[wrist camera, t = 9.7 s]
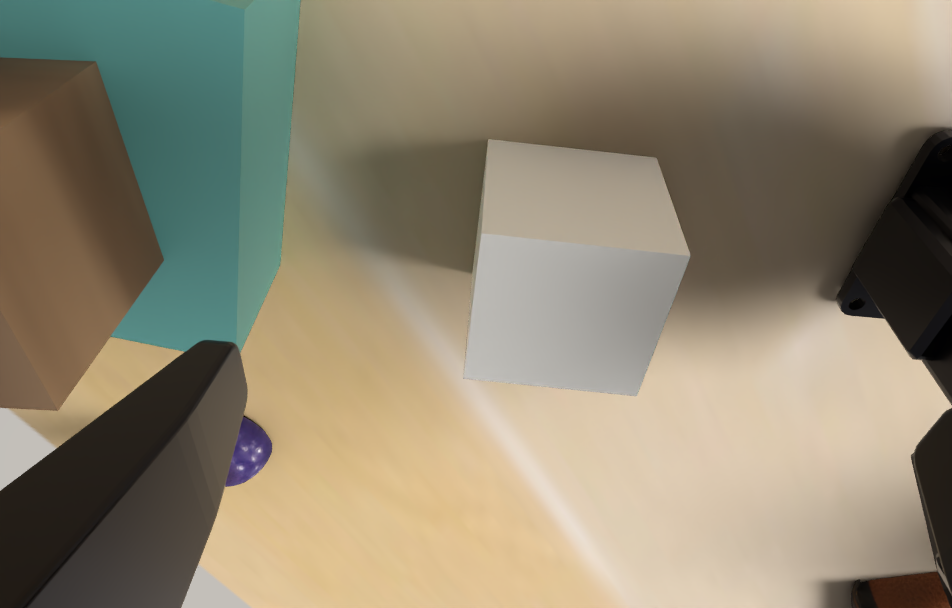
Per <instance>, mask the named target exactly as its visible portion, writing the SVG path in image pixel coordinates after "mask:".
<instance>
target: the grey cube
mask: <svg viewBox="0 0 952 608" xmlns="http://www.w3.org/2000/svg"><path fill="white" fill-rule="evenodd" d="M690 257H691V255H690V252H689V249H688V246H687V243H686V241H685V238H684V235H683V232H682V229H681V226H680V223H679V221H678V218H677V215H676V212H675V209H674V206H673V203H672V201H671V198H670V195H669V192H668V189H667V186H666V183H665V180H664V178H663V175H662V172H661V169H660V166H659V163H658V160H657V158H655V157H646V156H637V155H628V154H619V153H610V152H601V151H592V150H583V149H574V148H565V147H556V146H547V145H538V144H529V143H520V142H511V141H502V140H493V139H488V145H487V154H486V162H485V170H484V179H483V187H482V196H481V204H480V212H479V221H478V229H477V238H476V246H475V254H474V263H473V271H472V282H471V294H470V306H469V318H468V330H467V342H466V354H465V366H464V378H463V379H473V380H482V381H492V382H502V383H512V384H522V385H531V386H541V387H551V388H561V389H571V390H581V391H590V392H600V393H610V394H620V395H630V396H637V394H638V392H639V389H640V387H641V384H642V381H643V379H644V376H645V374H646V371H647V368H648V366H649V363H650V361H651V358H652V355H653V353H654V350H655V348H656V345H657V342H658V340H659V337H660V335H661V332H662V329H663V327H664V324H665V322H666V319H667V316H668V314H669V311H670V309H671V306H672V304H673V301H674V298H675V296H676V293H677V291H678V288H679V285H680V283H681V280H682V278H683V275H684V272H685V270H686V267H687V265H688V262H689V259H690Z"/></svg>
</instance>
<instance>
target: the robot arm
mask: <svg viewBox="0 0 952 608" xmlns="http://www.w3.org/2000/svg"><path fill="white" fill-rule="evenodd" d="M948 145H951V146H950V148H949V149H948V150H947V151H946V152H945V153H943V154H941V155H938V154H939V152H940V151H941V150H942V148H944V147H946V146H948ZM857 298H858V299H857ZM854 299H857V300H856V301H854V302H851V301H852V300H854ZM836 301H837V304H838V306H839V308H840V309H841V311H842V312H843V313H844V314H847V315H851V316H862V317H872V318H883V319H885V320H886V321H887V323H888V324H889V326H890V327H891V329H892V330H893V332H894V333H895V335H896V336H897V338H898V339H899V341H900V342H901V344H902V345H903V347H904V348H905V350H906V352H907V353H908V355H909V356H910V357H911V358H912V359H916V360H922V362H923V363H924V365H925V366H926V368H927V369H928V371H929V372H930V374H931V375H932V377H933V378H934V380H935V381H936V383H937V384H938V386H939V387H940V389H941V390H942V391H943V393H944V394H945V396H946V397H947V399H948V400H949V402H950V403H951V405H952V130H948V131H941V132H939V133H936V134H934V135H933V136H932V137H930V138H929V139H928V140H927V141H926V142H925V144H924V145H923V147H922V148H921V150H920V152H919V154H918V155H917V157H916V159H915V161H914V162H913V164H912V166H911V168H910V169H909V171H908V173H907V175H906V176H905V178H904V180H903V182H902V183H901V185H900V187H899V189H898V190H897V192H896V194H895V196H894V197H893V199H892V201H891V202H890V203H889V204H888V205H887V207H886V209H885V210H884V212H883V214H882V216H881V217H880V219H879V221H878V223H877V224H876V226H875V228H874V230H873V231H872V233H871V235H870V237H869V238H868V240H867V242H866V244H865V245H864V247H863V249H862V251H861V252H860V254H859V256H858V258H857V259H856V261H855V263H854V265H853V269H852V271H851V272H850V274H849V276H848V278H847V279H846V281H845V283H844V285H843V286H842V288H841V290H840V292H839V293H838V295H837V298H836ZM246 402H247V383H246V378H245V374H244V369H243V364H242V359H241V355H240V351H239V348H238V346H237V345H236V344H235V343H233V342H229V341H217V340H202V341H200V342H198V343H196V344H195V345H194V346H192V347H191V348H190V349H188V350H187V351H186V352H184V353H183V354H182V355H180V356H179V357H178V358H176V359H175V360H174V361H172V362H171V363H170V364H168V365H167V366H166V367H164V368H163V369H162V370H160V371H159V372H158V373H156V374H155V375H154V376H152V377H151V378H150V379H148V380H147V381H146V382H144V383H143V384H142V385H140V386H139V387H138V388H137V389H135V390H134V391H133V392H131V393H130V394H129V395H127V396H126V397H125V398H123V399H122V400H121V401H119V402H118V403H117V404H115V405H114V406H113V407H111V408H110V409H109V410H107V411H106V412H105V413H103V414H102V415H101V416H99V417H98V418H97V419H95V420H94V421H93V422H91V423H90V424H89V425H87V426H86V427H85V428H83V429H82V430H81V431H79V432H78V433H77V434H75V435H74V436H73V437H71V438H70V439H69V440H67V441H66V442H65V443H63V444H62V445H61V446H59V447H58V448H57V449H55V450H54V451H53V452H52V453H50V454H49V455H47V456H46V457H45V458H43V459H42V460H41V461H39V462H38V463H37V464H36V465H34V466H33V467H31V468H30V469H29V470H27V471H26V472H25V473H23V474H22V475H21V476H20V477H18V478H17V479H15V480H14V481H13V482H12V483H10V484H9V485H7V486H6V487H5V488H3V489H2V490H1V491H0V608H181V607H182V604H183V602H184V599H185V596H186V594H187V591H188V589H189V586H190V583H191V581H192V578H193V576H194V573H195V571H196V568H197V566H198V563H199V561H200V558H201V555H202V553H203V550H204V548H205V545H206V543H207V540H208V538H209V535H210V532H211V530H212V527H213V524H214V521H215V518H216V516H217V512H218V509H219V505H220V502H221V498H222V495H223V491H224V487H225V483H226V479H227V476H228V472H229V468H230V464H231V460H232V457H233V453H234V449H235V445H236V441H237V437H238V434H239V430H240V426H241V422H242V418H243V415H244V411H245V407H246ZM911 460H912V464H913V468H914V473H915V477H916V481H917V486H918V490H919V494H920V499H921V503H922V507H923V512H924V516H925V520H926V525H927V529H928V533H929V538H930V542H931V546H932V551H933V555H934V559H935V564H936V568H937V572H938V575H939V578H940V581H941V584H942V587H943V590H944V592H945V594H946V596H947V600H948V603H949V605H950V607H951V608H952V408H951V409H949V410H947V411H946V412H944V413H943V414H942V416H941V417H940V418H939V419H938V420H937V422H936V423H935V424H934V425H933V426H932V428H931V429H930V430H929V431H928V432H927V434H926V435H925V436H924V437H923V438H922V439H921V441H920V442H919V443H918V445H917V446H916V449H915V452H914V453H913V454H912V455H911Z"/></svg>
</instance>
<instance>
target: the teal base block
mask: <svg viewBox="0 0 952 608" xmlns="http://www.w3.org/2000/svg"><path fill="white" fill-rule="evenodd" d="M299 13H300V0H0V57H4V58H27V59H51V60H75V61H96V63H97V66H98V68H99V71H100V74H101V77H102V80H103V83H104V86H105V89H106V92H107V95H108V98H109V100H110V103H111V106H112V109H113V112H114V115H115V118H116V121H117V124H118V127H119V130H120V133H121V136H122V138H123V141H124V144H125V147H126V150H127V153H128V156H129V159H130V162H131V165H132V168H133V171H134V174H135V176H136V179H137V182H138V185H139V188H140V191H141V194H142V197H143V200H144V203H145V206H146V209H147V212H148V214H149V217H150V220H151V223H152V226H153V229H154V232H155V235H156V238H157V241H158V244H159V247H160V249H161V252H162V255H163V258H164V261H163V263H162V264H161V265H160V267H159V268H158V270H157V271H156V273H155V274H154V275H153V277H152V278H151V280H150V281H149V282H148V284H147V285H146V287H145V288H144V290H143V291H142V292H141V294H140V295H139V297H138V298H137V299H136V301H135V302H134V304H133V305H132V306H131V308H130V309H129V311H128V312H127V314H126V315H125V316H124V318H123V319H122V321H121V322H120V323H119V325H118V326H117V328H116V329H115V331H114V332H113V333H112V335H111V337H115V338H120V339H125V340H130V341H135V342H140V343H145V344H150V345H155V346H160V347H165V348H170V349H175V350H179V351H184V352H186V351H187V350H188V349H190V348H191V347H192V346H194V345H195V344H196V343H198V342H200V341H202V340H217V341H229V342H233V343H235V344H236V345H237V346H238V348H239V351H240V352H241V350H242V348H243V346H244V343H245V341H246V339H247V337H248V335H249V332H250V330H251V328H252V326H253V324H254V321H255V319H256V317H257V315H258V313H259V310H260V308H261V306H262V304H263V302H264V300H265V297H266V295H267V293H268V291H269V289H270V286H271V284H272V282H273V280H274V278H275V275H276V273H277V271H278V269H279V267H280V261H281V248H282V235H283V222H284V209H285V196H286V183H287V170H288V156H289V143H290V130H291V117H292V104H293V91H294V78H295V65H296V52H297V39H298V26H299Z"/></svg>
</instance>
